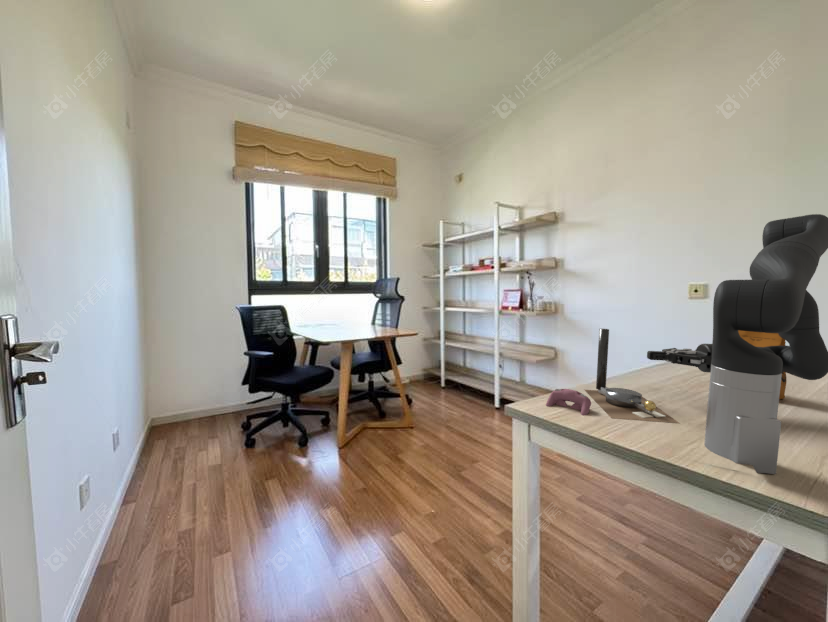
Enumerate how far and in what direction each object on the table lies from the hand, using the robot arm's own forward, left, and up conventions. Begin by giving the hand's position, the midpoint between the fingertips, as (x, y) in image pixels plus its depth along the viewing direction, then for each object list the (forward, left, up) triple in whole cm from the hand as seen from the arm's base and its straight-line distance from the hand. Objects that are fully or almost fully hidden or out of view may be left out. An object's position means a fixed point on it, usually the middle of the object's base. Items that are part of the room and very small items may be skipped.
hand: (648, 355), depth 93 cm
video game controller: (-13, +23, -13) cm, 30 cm away
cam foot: (-7, +8, -11) cm, 16 cm away
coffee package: (+14, -35, -13) cm, 40 cm away
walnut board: (-8, +8, -13) cm, 17 cm away
